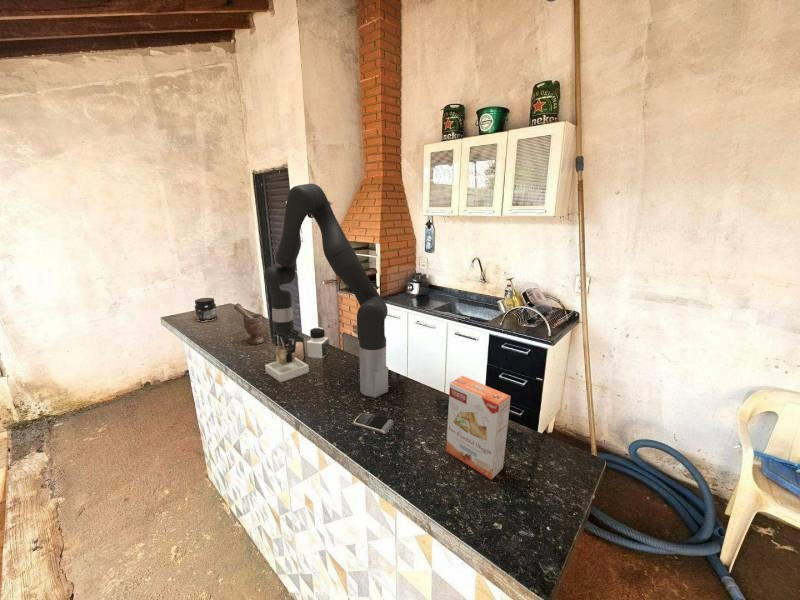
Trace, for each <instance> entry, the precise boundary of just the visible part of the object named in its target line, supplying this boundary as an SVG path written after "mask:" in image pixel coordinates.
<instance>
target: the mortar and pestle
mask: <svg viewBox="0 0 800 600" xmlns="http://www.w3.org/2000/svg"><path fill="white" fill-rule="evenodd" d="M233 309H235V310H236V311H237V312H238V313H239V314H240V315H242V316H243V322H244V328H245V331H246V333H247V334H248V335H250V337H249V338H248V341H247V343H248V344H249V343H250V344H249V345H251V344H255V345H260V344H259V343H261V344H262V342H263V343H264V341H265V342H266V340H265V338H264V336H262V333H263V331H264V325H265V320H264V314H262V313H252V314H251V313H250V314H249V313H248V312H247V311H246V308H244V307H243V306H242V304H240V303H236V304H234V305H233Z"/></svg>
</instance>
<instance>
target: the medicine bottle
mask: <svg viewBox="0 0 800 600" xmlns="http://www.w3.org/2000/svg"><path fill="white" fill-rule="evenodd" d="M309 332H310V333H309V334H310V339H308V340H307V341H306V351H307V357H308V358H314V359H324V358H325V357H326V356H327V355H328V353H330V343H329V342H330V341H329V337H326V334H325V333H326V331H325V329H324V328H323V327H314V328H311V329H310V330H309Z"/></svg>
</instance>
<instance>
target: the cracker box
mask: <svg viewBox="0 0 800 600" xmlns="http://www.w3.org/2000/svg"><path fill="white" fill-rule="evenodd" d="M510 405H511V395H508V394H507V393H504V392H502V391H499V390H497V389H495V388H492V387H490V386H487V384H486V385H485V384H483V383H480V382H478V381H476V380H473V379H472V378H469V377H466V376H464V375H461V376H460V377H458V378H456V379H455V380H453V381H451V382H449V394H448V411H447V429H446V430H447V431H446V447H445V452H446V453H448V454H450V455H452V456H453V457H454V458H456V459H458V460H459V461H461V462H462V463H464V464H465V465H467V466H469V467H470V468H471V469H474V470H475V471H477V472H478V473H480V474H481V475H483V476H484V477H486V478H487V479H489V480H490V481H492V480H493V479H494V478H495V477H496V476H497V475H498V474H499V473H500V472H501V471H502V470H503V468H504V464H505V463H504V462H505V454H506V447H507V445H506V443H507V435H508V427H509V417H510V416H509V415H510V409H511V408H510Z"/></svg>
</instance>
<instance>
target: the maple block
mask: <svg viewBox="0 0 800 600" xmlns="http://www.w3.org/2000/svg"><path fill="white" fill-rule="evenodd" d="M287 345H288V344H286V346H287ZM287 349H288V348H287ZM292 349H293V348H292ZM275 353H276V357H275V358H276V361H277V362H278V363H280V364H281V365H286V364H289V363H287V362H286V352H285V348H283V345H281V346H275ZM293 362H295V353H292V362H290V363H293Z"/></svg>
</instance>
